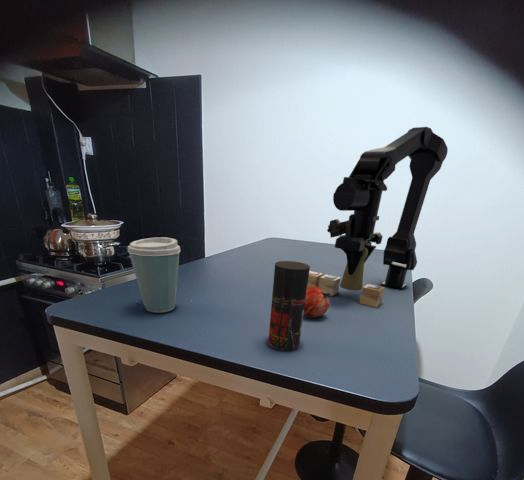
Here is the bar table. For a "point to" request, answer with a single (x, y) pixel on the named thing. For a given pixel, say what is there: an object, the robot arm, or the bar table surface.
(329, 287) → the block
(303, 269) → the deodorant
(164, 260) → the disposable coffee cup
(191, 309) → the bar table surface
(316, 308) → the pomegranate
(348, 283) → the olive tapered pawn
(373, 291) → the block
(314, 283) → the block
